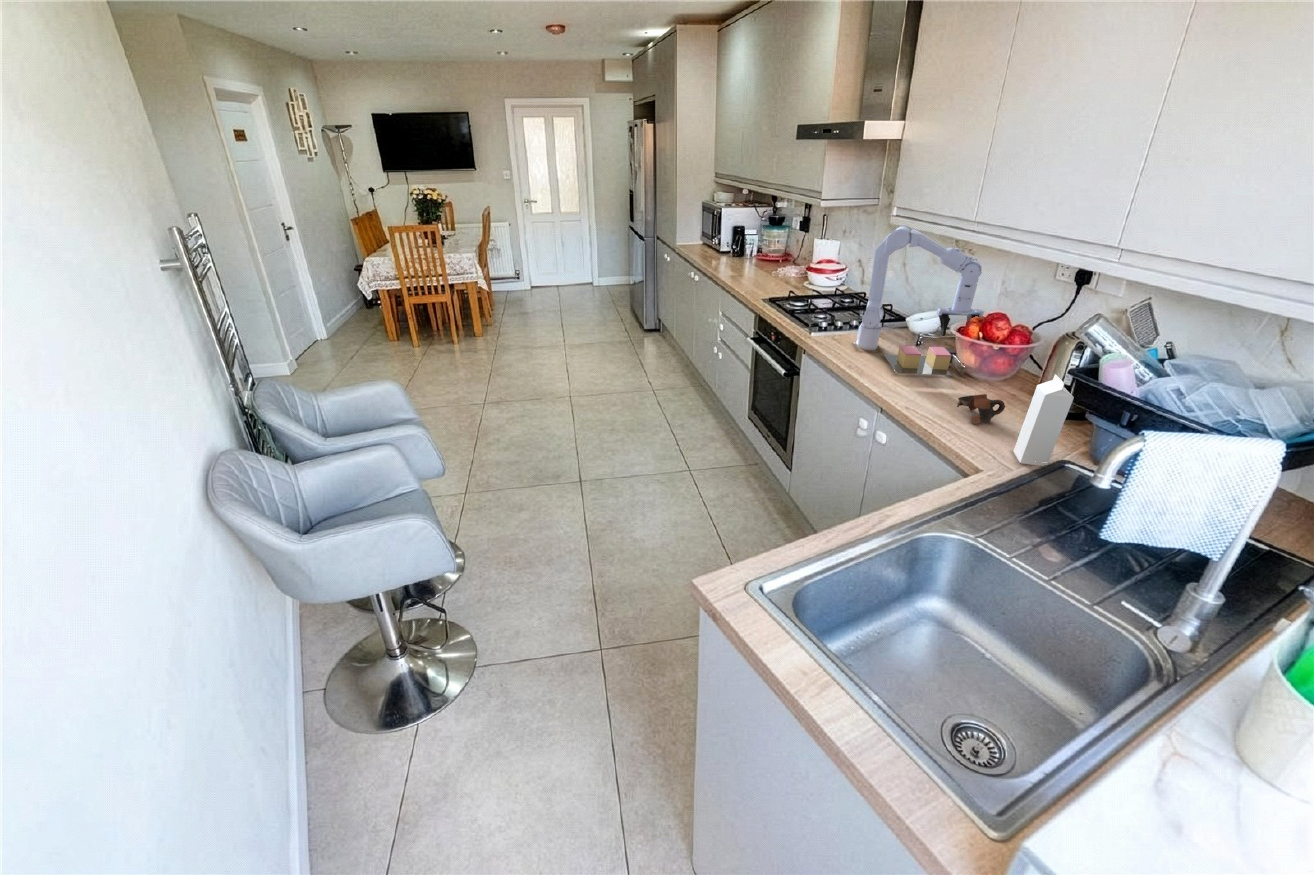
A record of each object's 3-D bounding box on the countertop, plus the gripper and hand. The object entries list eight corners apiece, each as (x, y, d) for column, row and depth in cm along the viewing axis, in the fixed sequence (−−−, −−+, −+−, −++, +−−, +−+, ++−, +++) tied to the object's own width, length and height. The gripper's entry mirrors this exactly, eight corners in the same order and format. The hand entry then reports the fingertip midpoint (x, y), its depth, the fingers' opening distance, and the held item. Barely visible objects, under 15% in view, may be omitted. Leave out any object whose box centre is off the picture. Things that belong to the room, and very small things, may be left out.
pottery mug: (961, 425, 159) (958, 396, 159) (955, 425, 168) (952, 398, 168) (1010, 420, 155) (1006, 390, 155) (1001, 420, 164) (998, 392, 164)
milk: (1038, 455, 144) (1069, 375, 133) (1046, 467, 139) (1080, 384, 128) (1012, 451, 145) (1041, 372, 134) (1019, 463, 140) (1050, 382, 129)
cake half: (896, 359, 200) (899, 345, 198) (911, 360, 200) (914, 346, 197) (902, 368, 193) (906, 353, 191) (917, 368, 193) (921, 354, 190)
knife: (941, 358, 204) (944, 347, 202) (948, 358, 204) (951, 347, 202) (958, 376, 189) (961, 365, 187) (966, 376, 189) (969, 365, 187)
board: (882, 356, 205) (883, 354, 205) (934, 358, 204) (934, 356, 203) (895, 375, 190) (896, 373, 189) (951, 377, 188) (952, 375, 188)
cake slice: (925, 360, 199) (928, 346, 197) (939, 361, 199) (943, 347, 196) (932, 369, 192) (936, 354, 190) (947, 369, 192) (951, 355, 189)
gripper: (946, 299, 188) (936, 338, 194) (991, 300, 186) (980, 339, 193) (939, 294, 194) (929, 332, 200) (983, 295, 192) (972, 333, 199)
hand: (954, 335), depth 197 cm, fingers open, 7 cm apart
